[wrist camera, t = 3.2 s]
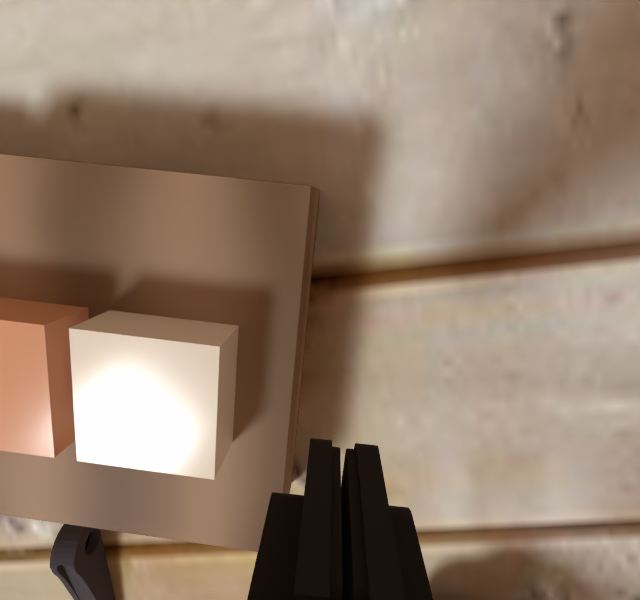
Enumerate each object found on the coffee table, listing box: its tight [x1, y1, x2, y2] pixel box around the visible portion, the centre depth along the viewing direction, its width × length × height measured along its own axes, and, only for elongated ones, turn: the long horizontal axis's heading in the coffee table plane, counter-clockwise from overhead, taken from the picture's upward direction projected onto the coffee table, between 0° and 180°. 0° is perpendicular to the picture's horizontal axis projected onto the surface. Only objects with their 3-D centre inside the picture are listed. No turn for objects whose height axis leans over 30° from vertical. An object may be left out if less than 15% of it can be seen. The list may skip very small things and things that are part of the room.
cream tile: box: [69, 310, 239, 480], centre depth 13 cm, size 4×4×2 cm
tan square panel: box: [0, 154, 320, 552], centre depth 16 cm, size 13×14×4 cm
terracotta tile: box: [0, 297, 89, 458], centre depth 13 cm, size 4×4×2 cm
